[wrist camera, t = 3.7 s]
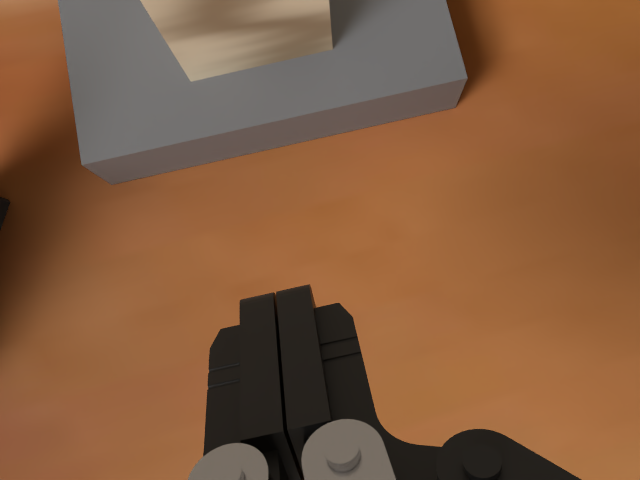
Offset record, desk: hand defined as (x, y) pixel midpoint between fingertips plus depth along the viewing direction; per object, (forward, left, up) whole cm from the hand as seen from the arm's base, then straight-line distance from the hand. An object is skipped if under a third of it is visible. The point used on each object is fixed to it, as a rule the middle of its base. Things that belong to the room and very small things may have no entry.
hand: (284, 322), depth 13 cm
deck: (0, -15, -13) cm, 19 cm away
